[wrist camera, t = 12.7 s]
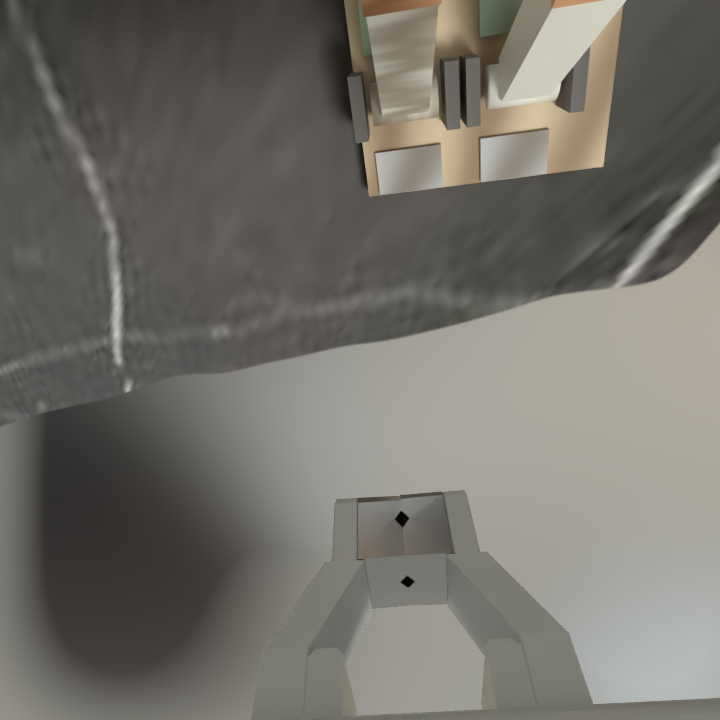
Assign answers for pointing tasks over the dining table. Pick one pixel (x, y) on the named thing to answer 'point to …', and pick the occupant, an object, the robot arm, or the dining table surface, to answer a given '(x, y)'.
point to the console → (464, 97)
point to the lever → (544, 49)
